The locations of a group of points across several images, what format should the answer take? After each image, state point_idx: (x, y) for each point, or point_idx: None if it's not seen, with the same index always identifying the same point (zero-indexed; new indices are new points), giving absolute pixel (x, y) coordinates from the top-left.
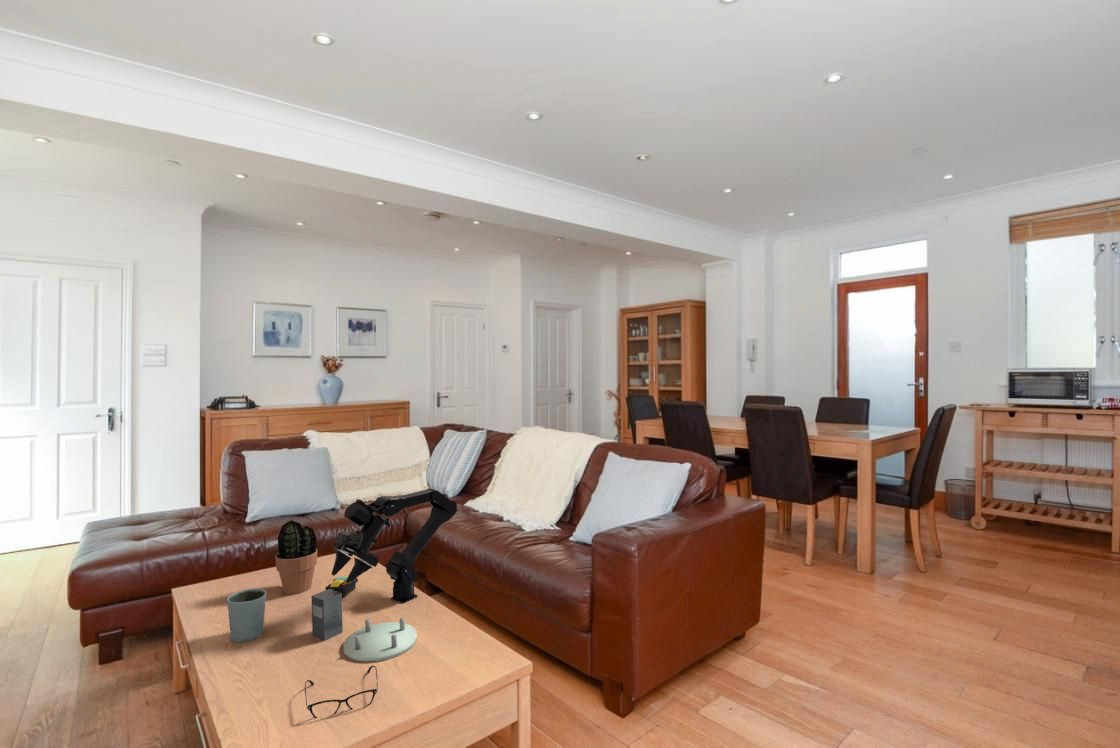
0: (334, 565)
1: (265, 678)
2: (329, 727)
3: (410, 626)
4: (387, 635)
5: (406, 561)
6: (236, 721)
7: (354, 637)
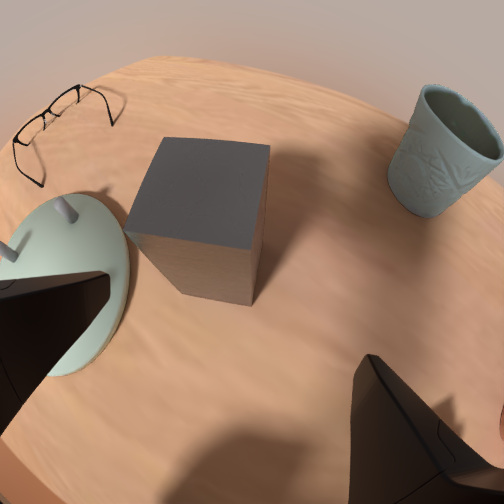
0: (413, 402)
1: (208, 101)
2: (59, 105)
3: None
4: None
5: None
6: (168, 62)
7: (106, 257)
